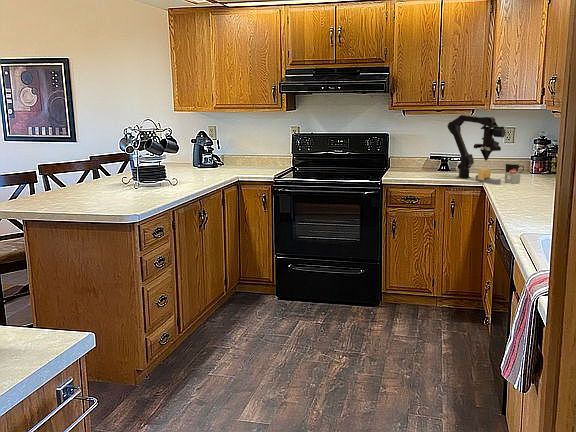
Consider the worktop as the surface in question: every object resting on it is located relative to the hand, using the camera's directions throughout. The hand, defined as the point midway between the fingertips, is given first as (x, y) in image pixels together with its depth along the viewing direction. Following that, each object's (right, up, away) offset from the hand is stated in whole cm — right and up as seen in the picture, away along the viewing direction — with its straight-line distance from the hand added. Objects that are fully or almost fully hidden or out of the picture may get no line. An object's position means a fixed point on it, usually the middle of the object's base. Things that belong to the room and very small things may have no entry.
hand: (486, 160), depth 386 cm
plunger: (+15, -13, -5) cm, 21 cm away
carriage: (-2, -12, -2) cm, 13 cm away
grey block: (+15, -15, -5) cm, 22 cm away
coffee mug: (+22, -11, +12) cm, 27 cm away
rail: (-1, -14, -5) cm, 15 cm away
